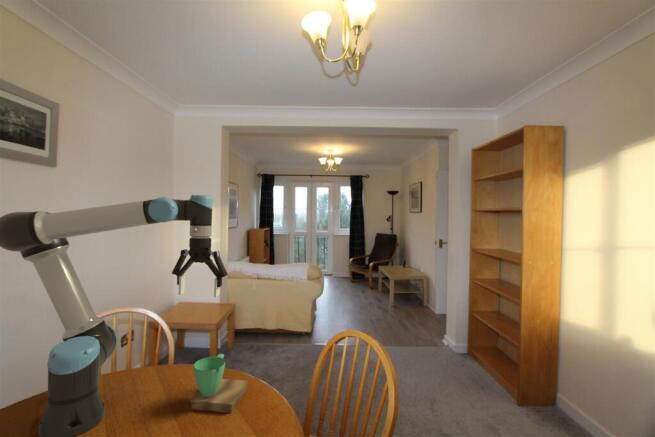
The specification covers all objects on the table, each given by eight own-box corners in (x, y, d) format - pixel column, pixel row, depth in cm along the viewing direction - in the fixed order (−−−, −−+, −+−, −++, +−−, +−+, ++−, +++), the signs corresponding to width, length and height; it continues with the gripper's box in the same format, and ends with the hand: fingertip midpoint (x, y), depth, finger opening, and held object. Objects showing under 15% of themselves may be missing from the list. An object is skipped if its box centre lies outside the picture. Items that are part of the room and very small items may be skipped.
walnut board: (189, 409, 100) (190, 400, 100) (210, 385, 114) (211, 377, 114) (231, 413, 98) (232, 404, 98) (247, 389, 112) (248, 380, 112)
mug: (216, 403, 98) (217, 371, 98) (186, 400, 99) (187, 369, 99) (235, 379, 113) (235, 351, 113) (209, 377, 114) (209, 349, 114)
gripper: (162, 236, 112) (160, 295, 112) (228, 239, 109) (227, 299, 110) (174, 235, 120) (173, 290, 120) (237, 237, 117) (235, 294, 117)
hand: (199, 294), depth 115 cm, fingers open, 13 cm apart
